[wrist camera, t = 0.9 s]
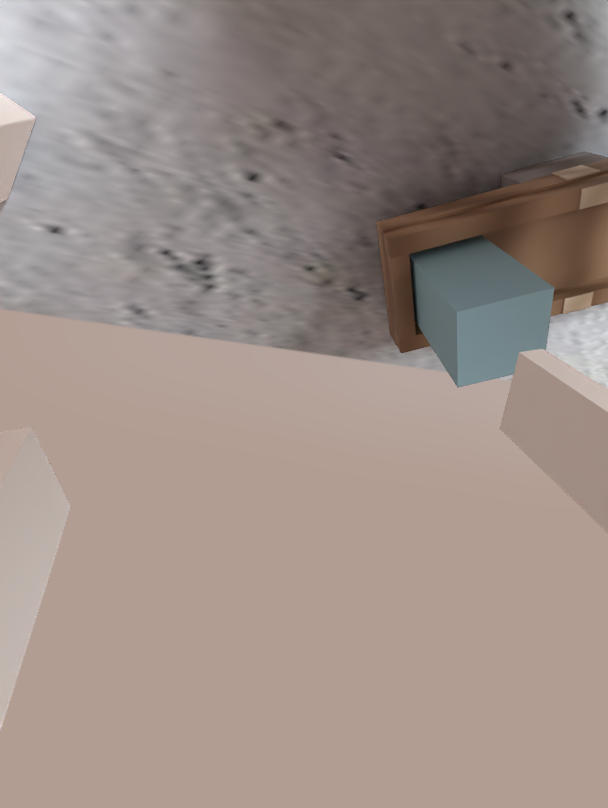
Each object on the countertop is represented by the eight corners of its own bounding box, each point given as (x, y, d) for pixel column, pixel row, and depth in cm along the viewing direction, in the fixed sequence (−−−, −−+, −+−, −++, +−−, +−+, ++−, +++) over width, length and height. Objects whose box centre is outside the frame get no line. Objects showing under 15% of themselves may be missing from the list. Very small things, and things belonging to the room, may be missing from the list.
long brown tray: (381, 317, 38) (402, 357, 32) (367, 209, 32) (388, 236, 27) (686, 240, 36) (760, 268, 31) (728, 110, 30) (827, 118, 25)
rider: (413, 318, 32) (457, 387, 25) (407, 253, 29) (456, 312, 22) (479, 301, 32) (543, 366, 25) (481, 234, 29) (554, 287, 22)
